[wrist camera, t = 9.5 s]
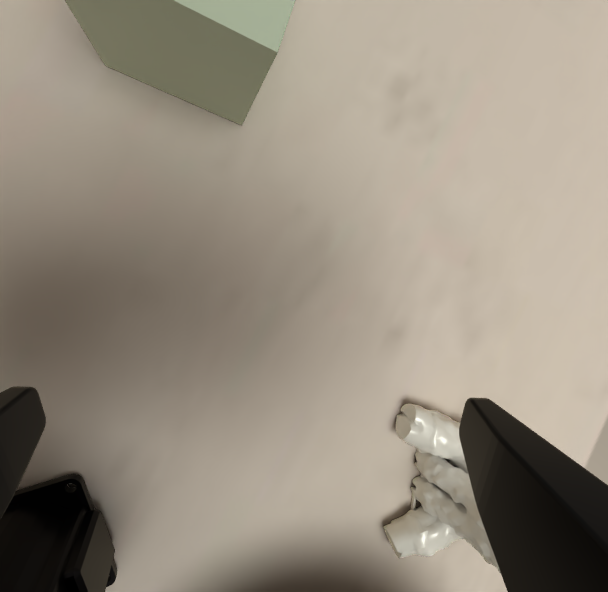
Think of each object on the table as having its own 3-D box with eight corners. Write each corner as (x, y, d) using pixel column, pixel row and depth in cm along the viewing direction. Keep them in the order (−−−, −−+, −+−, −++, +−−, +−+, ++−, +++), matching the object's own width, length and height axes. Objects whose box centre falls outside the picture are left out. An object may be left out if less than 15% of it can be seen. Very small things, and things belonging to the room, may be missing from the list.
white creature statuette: (393, 397, 25) (557, 551, 14) (518, 391, 27) (753, 521, 16) (378, 541, 27) (514, 787, 15) (498, 525, 29) (696, 731, 17)
